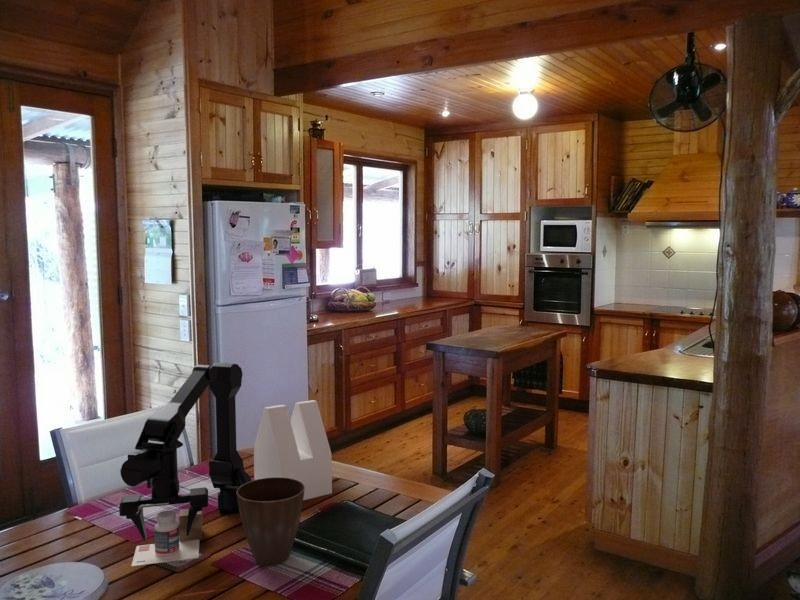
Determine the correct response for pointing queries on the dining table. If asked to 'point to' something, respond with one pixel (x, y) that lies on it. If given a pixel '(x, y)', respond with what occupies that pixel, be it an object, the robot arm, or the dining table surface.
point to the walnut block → (195, 528)
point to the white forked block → (294, 448)
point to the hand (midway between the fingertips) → (166, 537)
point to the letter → (148, 556)
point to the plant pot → (271, 517)
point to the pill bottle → (166, 534)
